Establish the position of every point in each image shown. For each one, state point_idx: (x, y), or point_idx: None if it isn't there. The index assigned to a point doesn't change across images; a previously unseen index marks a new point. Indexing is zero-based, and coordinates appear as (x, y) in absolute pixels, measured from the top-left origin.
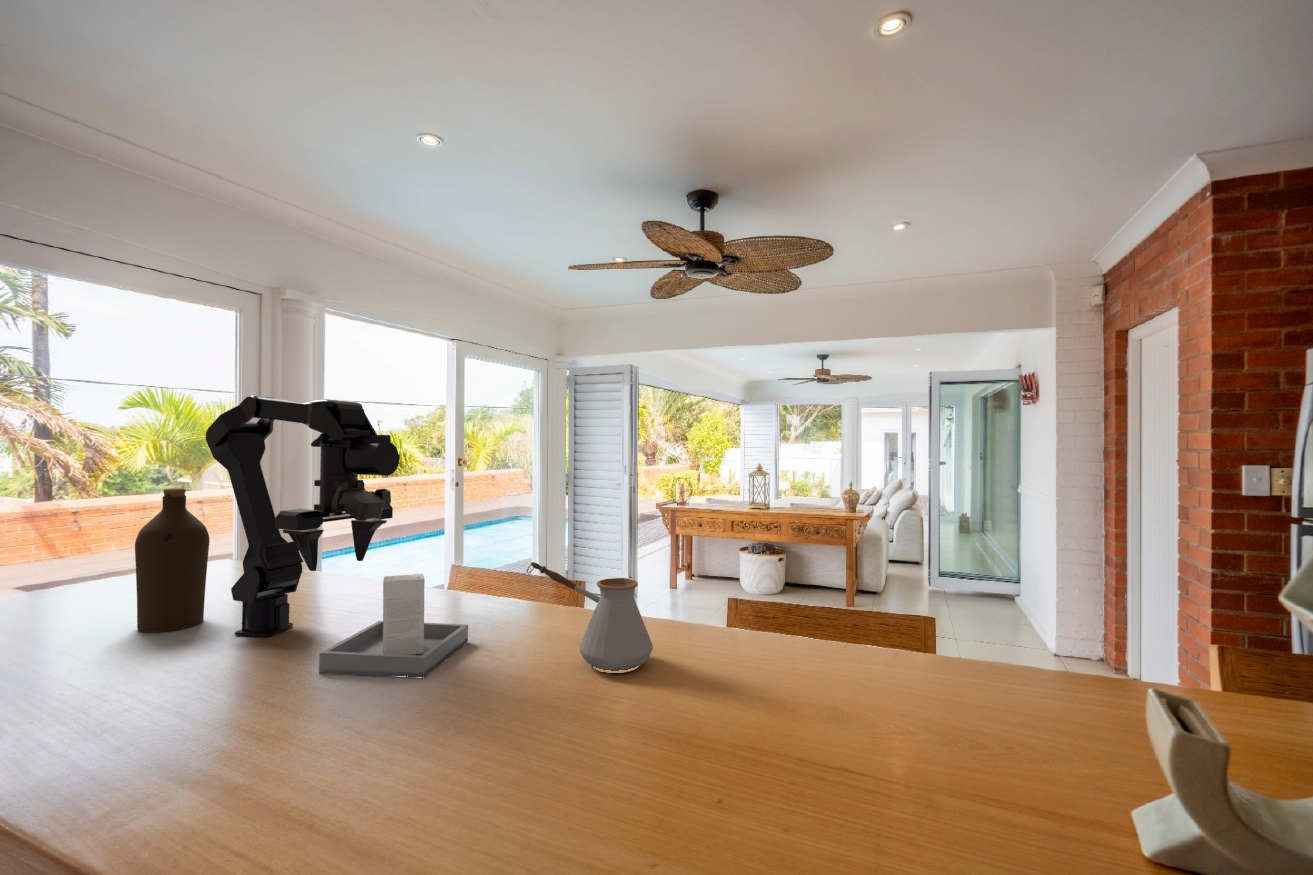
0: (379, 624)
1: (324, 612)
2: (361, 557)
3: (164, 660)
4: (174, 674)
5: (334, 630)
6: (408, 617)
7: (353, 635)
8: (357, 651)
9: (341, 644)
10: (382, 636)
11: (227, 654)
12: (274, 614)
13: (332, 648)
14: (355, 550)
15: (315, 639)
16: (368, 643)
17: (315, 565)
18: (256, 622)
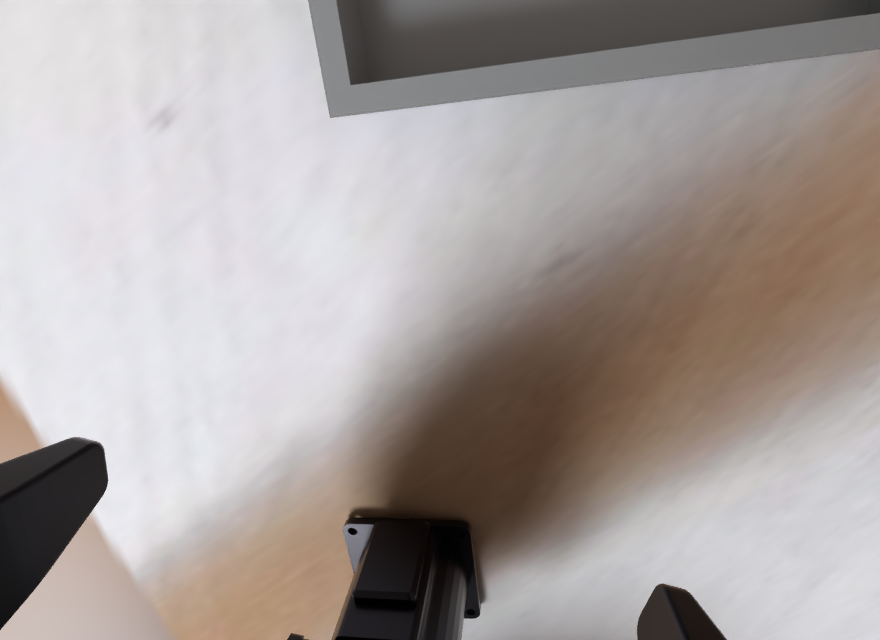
0: (369, 83)
1: (191, 513)
2: (69, 463)
3: None
4: (847, 549)
5: (336, 366)
6: None
7: (606, 73)
8: (626, 24)
9: (769, 28)
10: (386, 61)
11: (648, 527)
12: (426, 581)
13: (865, 18)
14: (18, 598)
15: (447, 365)
16: (499, 58)
17: (703, 635)
18: (461, 597)
